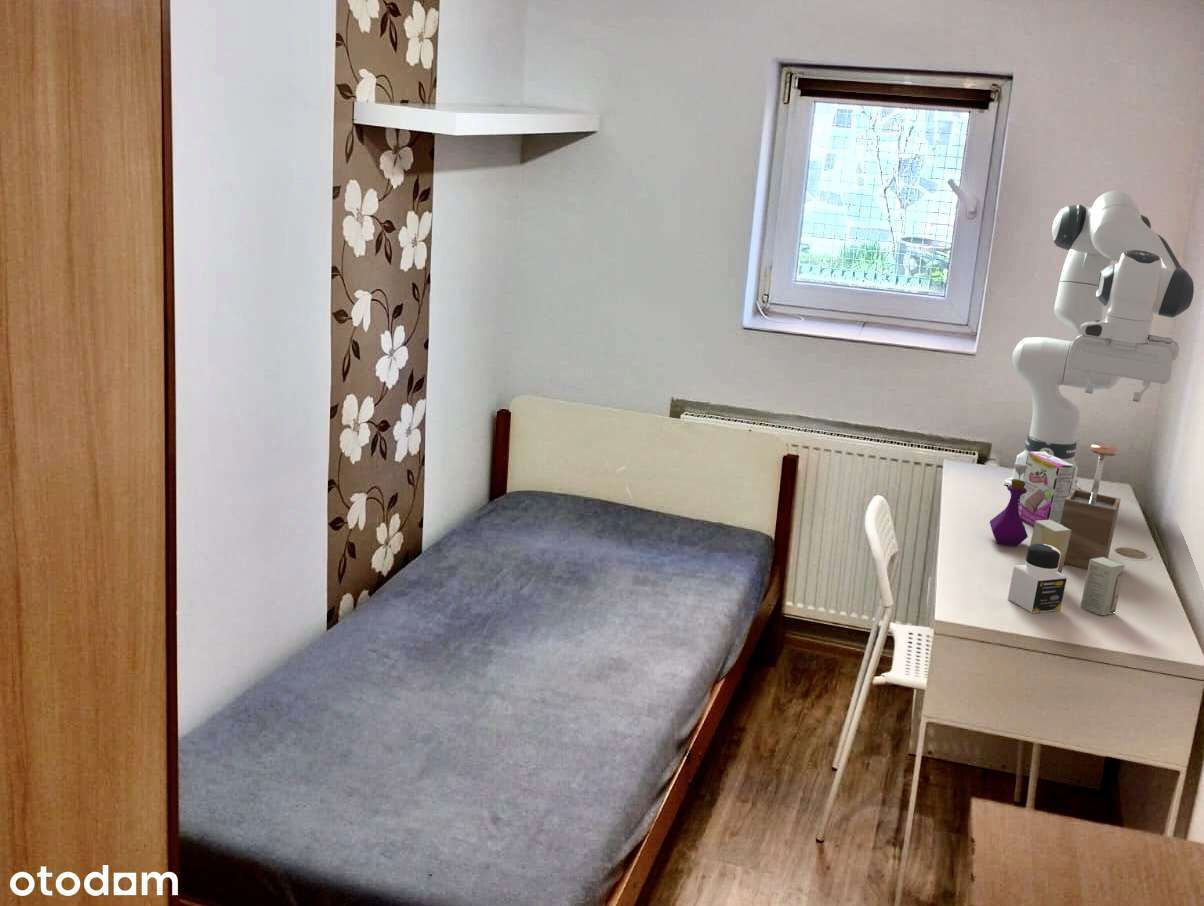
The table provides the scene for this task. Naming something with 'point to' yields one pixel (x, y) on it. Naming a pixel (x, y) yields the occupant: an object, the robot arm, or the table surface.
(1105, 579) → the skincare box
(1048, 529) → the skincare box
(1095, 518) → the wooden box
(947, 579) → the table surface
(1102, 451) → the table lamp
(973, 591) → the table surface
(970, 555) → the table surface
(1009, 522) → the perfume bottle
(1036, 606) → the medicine bottle
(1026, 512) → the candy bar box
